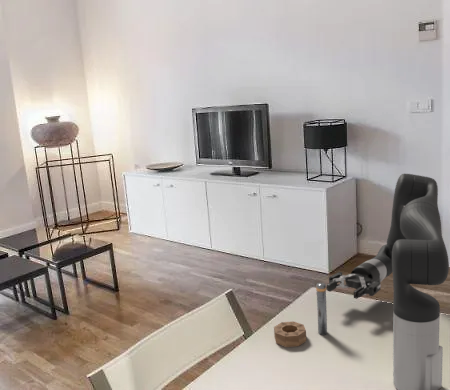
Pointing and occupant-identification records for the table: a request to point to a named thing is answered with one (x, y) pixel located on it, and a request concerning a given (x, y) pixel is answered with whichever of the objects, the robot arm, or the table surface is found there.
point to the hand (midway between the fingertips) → (341, 291)
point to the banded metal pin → (321, 308)
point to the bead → (290, 334)
